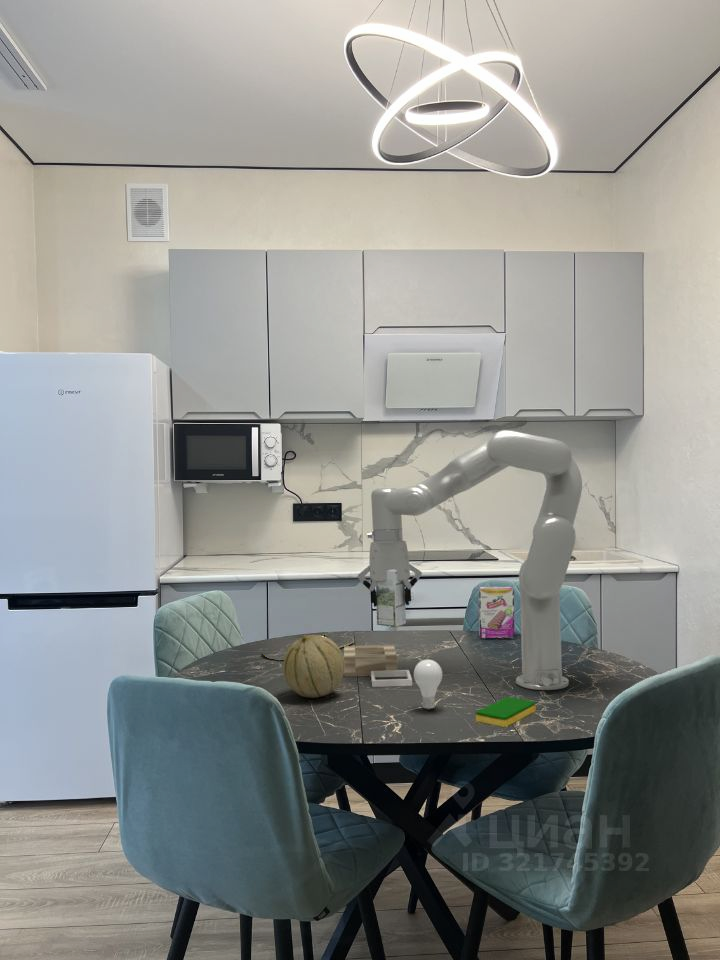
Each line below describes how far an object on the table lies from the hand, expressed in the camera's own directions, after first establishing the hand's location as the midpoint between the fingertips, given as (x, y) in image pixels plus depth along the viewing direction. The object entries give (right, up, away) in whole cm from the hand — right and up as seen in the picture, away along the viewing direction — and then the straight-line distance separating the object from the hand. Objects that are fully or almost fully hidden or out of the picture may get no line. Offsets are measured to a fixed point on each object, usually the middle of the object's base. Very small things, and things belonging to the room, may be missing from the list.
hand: (391, 604), depth 190 cm
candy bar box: (+36, -19, +49) cm, 64 cm away
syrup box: (0, -5, 0) cm, 5 cm away
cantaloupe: (-19, -20, -12) cm, 30 cm away
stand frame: (0, -19, 0) cm, 20 cm away
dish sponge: (+23, -19, -31) cm, 43 cm away
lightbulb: (+7, -19, -25) cm, 32 cm away
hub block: (-5, -20, +13) cm, 24 cm away
